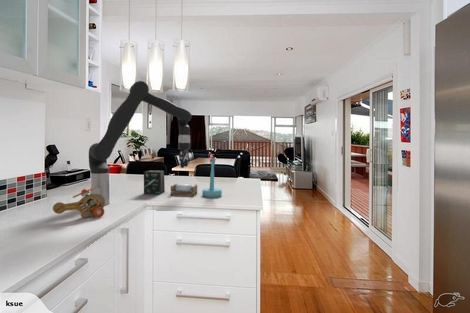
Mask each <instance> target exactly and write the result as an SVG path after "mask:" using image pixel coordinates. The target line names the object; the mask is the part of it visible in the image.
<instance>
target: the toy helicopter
mask: <svg viewBox="0 0 470 313" xmlns="http://www.w3.org/2000/svg"><path fill="white" fill-rule="evenodd" d="M90 188H91V187H90ZM90 188H89V189H86V188H83V189H82V190H81V192H80V193H77V194H75V195H73V196H72V197H71V198H72V199H74V198H76V197H80V196H81V197H82V198H81V199H80V200H78V201H75V202H69V203H64V202H62V201H61V202H60V201H59V202H56V203H54V205H53V206H52V211H53V212H54V213H55V214H57V215H61V214H63V213H65V212H66V211H67V212H69V211H78V212H79V213H80V217H81V218H82V219H86V217H89V216H90V217H91V216H93V217H94V218H102V217H103V216H104V214H105V209H104V207H105V206H106V205H105V199H104V197H103V196H102V195H99V194H90V190H93V189H95V188H97V187H94V188H91V189H90ZM91 198H94V199H96V201H97V202H98V203H99V204H100V205H99V204H98V203H96V201H95V200H94V199H91Z"/></svg>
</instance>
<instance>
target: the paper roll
mask: <svg viewBox="0 0 470 313" xmlns="http://www.w3.org/2000/svg"><path fill="white" fill-rule="evenodd" d="M176 184H177V185H176V191H181V192H192V186H193V184H178V183H176Z"/></svg>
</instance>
